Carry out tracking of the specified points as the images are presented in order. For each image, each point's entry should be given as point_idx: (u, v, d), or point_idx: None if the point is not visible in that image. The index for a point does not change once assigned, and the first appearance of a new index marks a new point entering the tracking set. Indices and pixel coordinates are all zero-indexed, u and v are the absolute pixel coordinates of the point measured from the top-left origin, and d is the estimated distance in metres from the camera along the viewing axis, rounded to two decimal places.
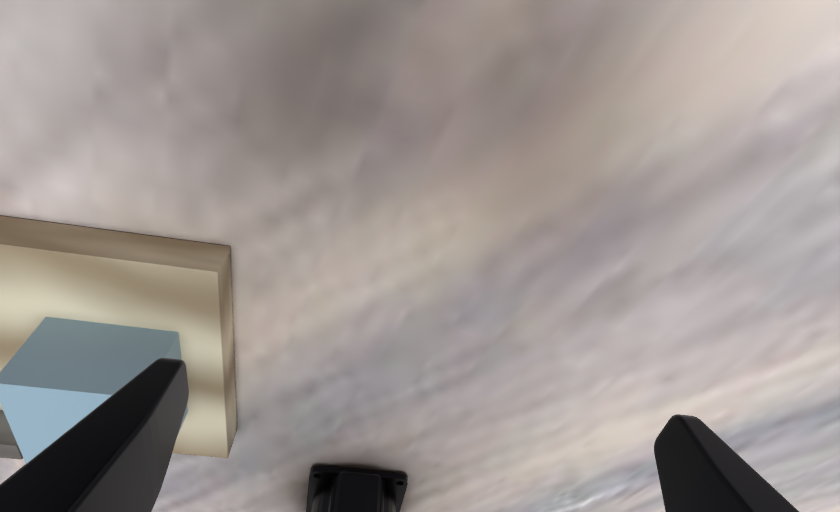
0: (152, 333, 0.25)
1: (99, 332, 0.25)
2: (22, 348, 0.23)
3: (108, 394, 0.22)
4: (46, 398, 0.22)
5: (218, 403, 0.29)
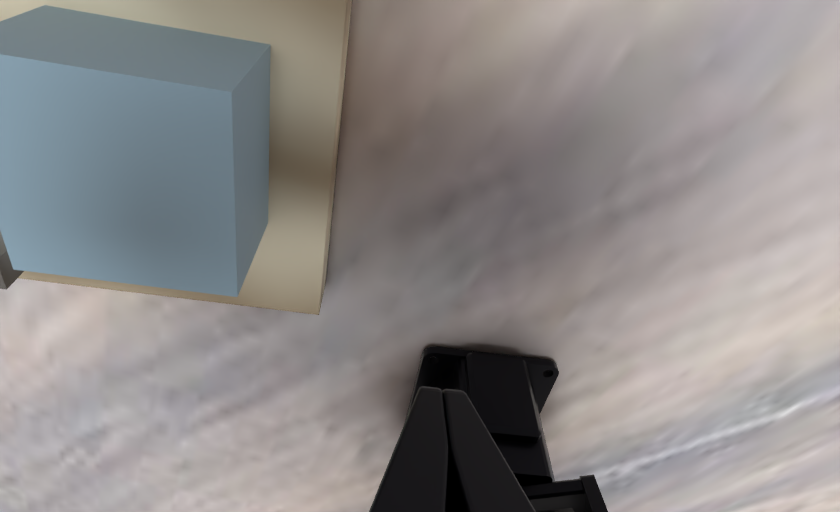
0: (227, 40, 0.15)
1: (138, 28, 0.14)
2: (0, 23, 0.13)
3: (163, 80, 0.12)
4: (46, 92, 0.12)
5: (318, 206, 0.18)
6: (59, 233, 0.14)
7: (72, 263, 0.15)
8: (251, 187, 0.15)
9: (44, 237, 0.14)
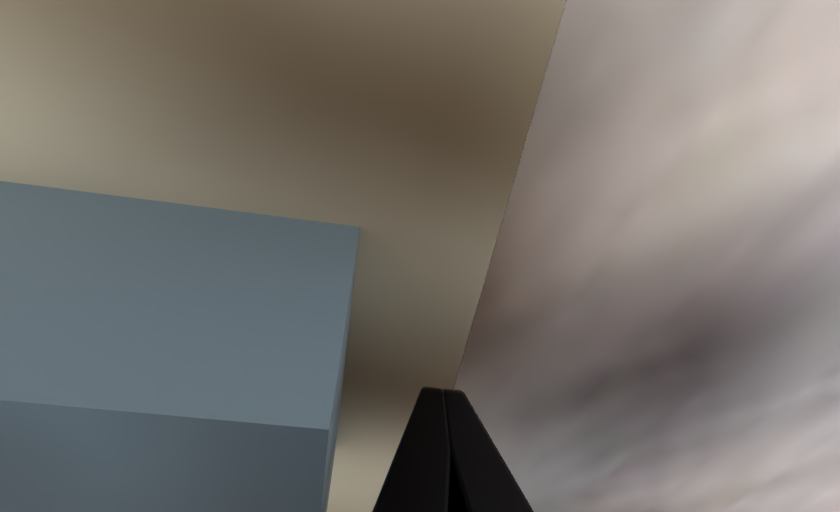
0: (290, 228, 0.09)
1: (135, 220, 0.08)
2: None
3: (186, 415, 0.06)
4: None
5: None
6: None
7: None
8: None
9: None
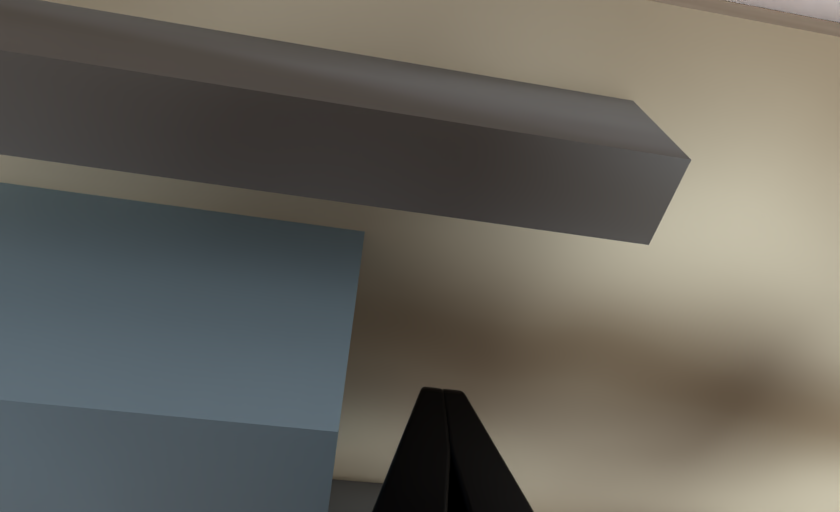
0: (296, 232, 0.09)
1: (144, 223, 0.08)
2: None
3: (199, 416, 0.06)
4: None
5: None
6: None
7: None
8: (333, 469, 0.09)
9: None
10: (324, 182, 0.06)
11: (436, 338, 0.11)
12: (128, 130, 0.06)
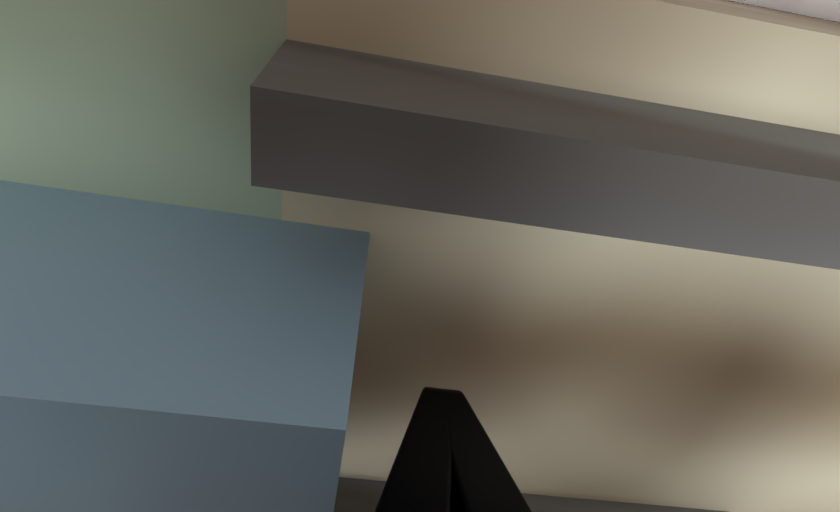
0: (302, 232, 0.09)
1: (152, 223, 0.08)
2: None
3: (210, 414, 0.06)
4: None
5: None
6: None
7: None
8: None
9: None
10: None
11: (763, 374, 0.11)
12: (718, 215, 0.07)
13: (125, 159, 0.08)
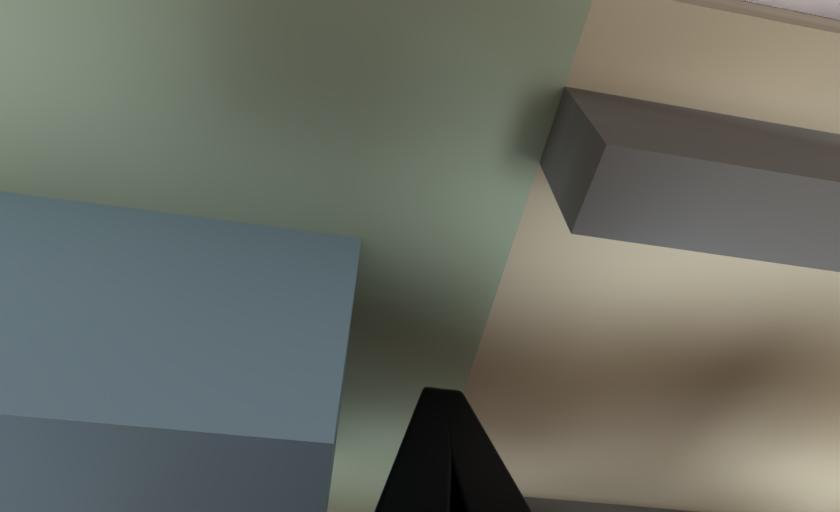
0: (292, 239, 0.09)
1: (139, 231, 0.08)
2: None
3: (195, 428, 0.06)
4: None
5: None
6: None
7: None
8: None
9: None
10: None
11: None
12: None
13: (376, 196, 0.09)
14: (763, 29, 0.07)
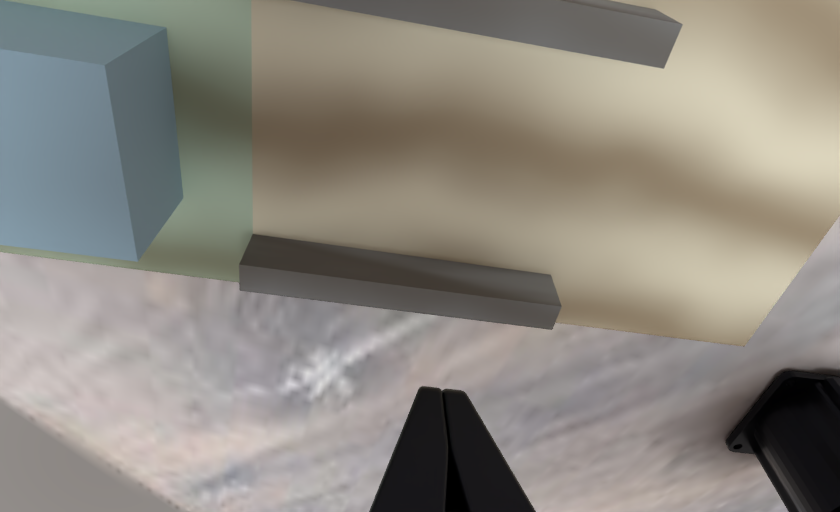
0: (124, 23, 0.16)
1: (39, 12, 0.16)
2: None
3: (42, 55, 0.13)
4: None
5: (800, 258, 0.22)
6: None
7: None
8: (149, 159, 0.16)
9: None
10: (525, 34, 0.15)
11: (542, 154, 0.19)
12: (450, 8, 0.14)
13: None
14: None
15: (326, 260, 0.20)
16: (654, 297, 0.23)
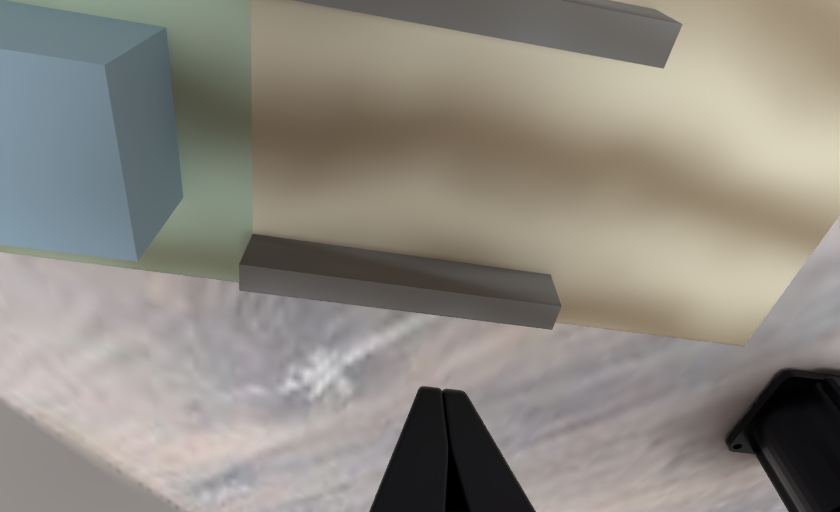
0: (124, 23, 0.16)
1: (38, 12, 0.16)
2: None
3: (41, 54, 0.13)
4: None
5: (799, 258, 0.22)
6: None
7: None
8: (149, 159, 0.16)
9: None
10: (525, 33, 0.15)
11: (542, 154, 0.19)
12: (450, 7, 0.14)
13: None
14: None
15: (326, 259, 0.20)
16: (654, 297, 0.23)
